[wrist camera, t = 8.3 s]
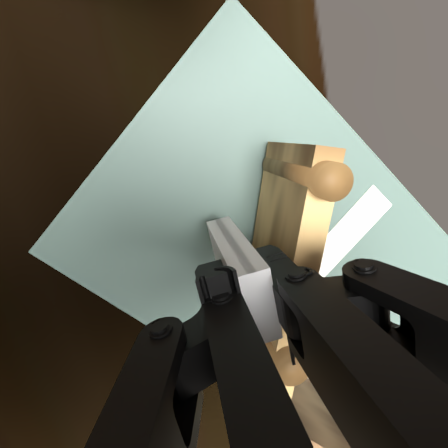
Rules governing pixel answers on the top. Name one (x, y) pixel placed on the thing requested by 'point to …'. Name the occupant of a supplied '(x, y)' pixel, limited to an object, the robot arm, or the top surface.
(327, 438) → the fence fixed leg
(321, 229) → the fence panel
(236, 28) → the board
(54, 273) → the top surface
